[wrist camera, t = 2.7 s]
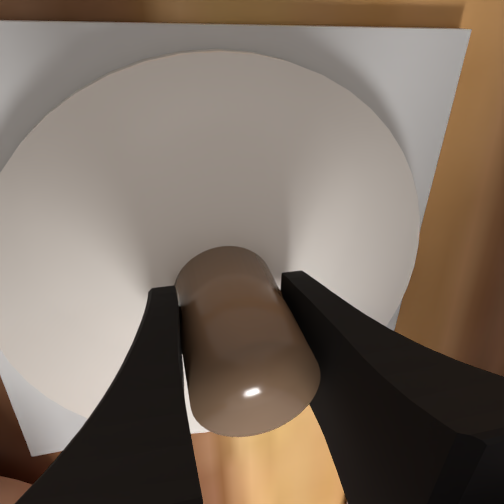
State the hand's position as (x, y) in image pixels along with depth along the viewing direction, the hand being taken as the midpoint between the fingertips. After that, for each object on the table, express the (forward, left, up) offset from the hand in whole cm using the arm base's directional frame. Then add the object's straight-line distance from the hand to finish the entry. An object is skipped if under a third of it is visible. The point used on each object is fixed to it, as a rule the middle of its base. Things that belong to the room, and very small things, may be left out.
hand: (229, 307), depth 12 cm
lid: (0, 0, -2) cm, 2 cm away
